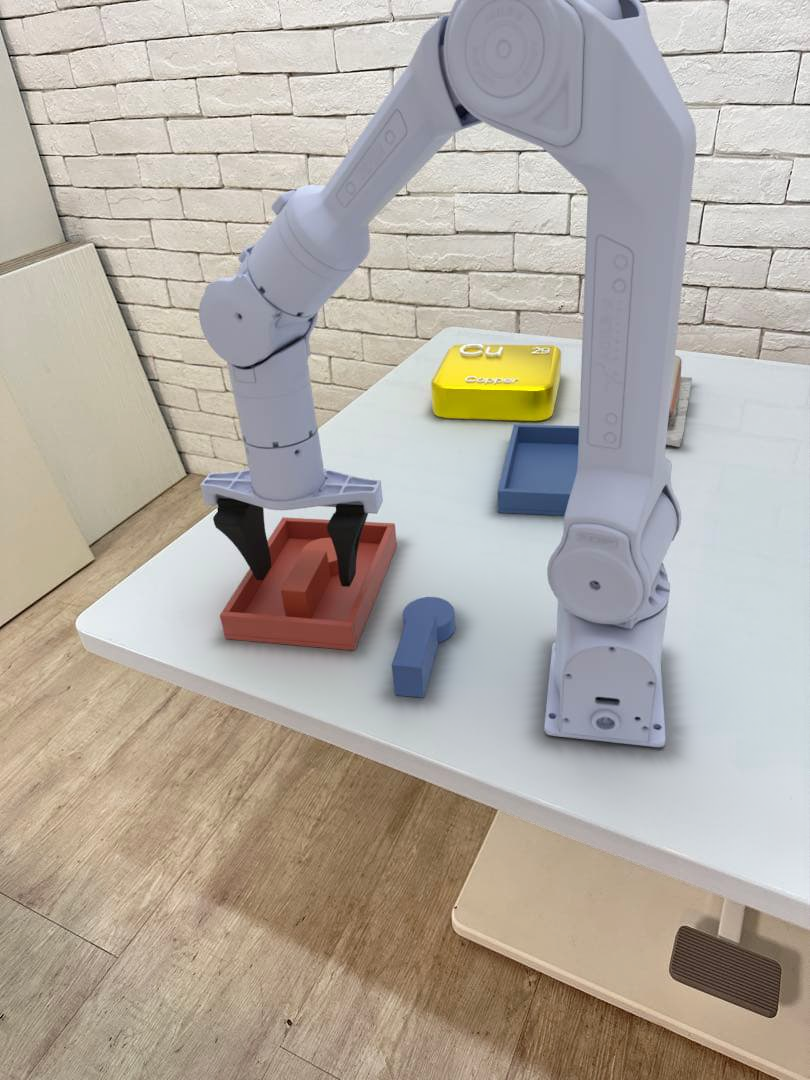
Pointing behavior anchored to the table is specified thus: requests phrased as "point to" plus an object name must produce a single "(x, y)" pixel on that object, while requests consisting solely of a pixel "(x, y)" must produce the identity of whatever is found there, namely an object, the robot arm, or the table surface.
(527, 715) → the table surface
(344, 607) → the red tray
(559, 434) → the blue tray
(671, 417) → the packaged product
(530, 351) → the element tile
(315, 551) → the red spoon
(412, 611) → the blue spoon
